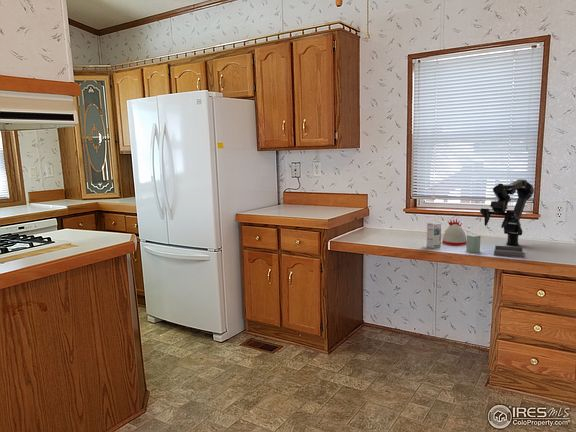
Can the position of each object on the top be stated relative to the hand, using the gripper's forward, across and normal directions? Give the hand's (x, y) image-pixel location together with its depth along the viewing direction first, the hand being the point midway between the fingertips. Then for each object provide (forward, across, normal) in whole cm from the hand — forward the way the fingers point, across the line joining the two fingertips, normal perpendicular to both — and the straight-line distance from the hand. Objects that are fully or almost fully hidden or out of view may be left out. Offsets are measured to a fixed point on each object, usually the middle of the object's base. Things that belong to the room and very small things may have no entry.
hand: (493, 226), depth 249 cm
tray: (+10, +8, +10) cm, 17 cm away
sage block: (+15, -8, +4) cm, 17 cm away
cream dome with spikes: (+7, -26, +15) cm, 31 cm away
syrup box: (+18, -30, 0) cm, 35 cm away
